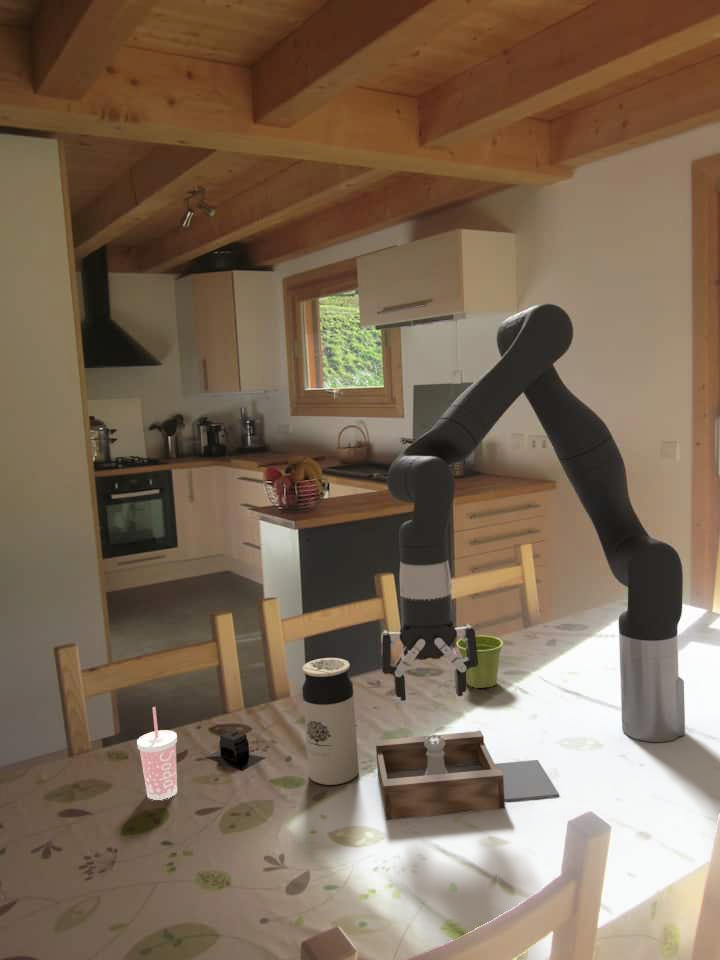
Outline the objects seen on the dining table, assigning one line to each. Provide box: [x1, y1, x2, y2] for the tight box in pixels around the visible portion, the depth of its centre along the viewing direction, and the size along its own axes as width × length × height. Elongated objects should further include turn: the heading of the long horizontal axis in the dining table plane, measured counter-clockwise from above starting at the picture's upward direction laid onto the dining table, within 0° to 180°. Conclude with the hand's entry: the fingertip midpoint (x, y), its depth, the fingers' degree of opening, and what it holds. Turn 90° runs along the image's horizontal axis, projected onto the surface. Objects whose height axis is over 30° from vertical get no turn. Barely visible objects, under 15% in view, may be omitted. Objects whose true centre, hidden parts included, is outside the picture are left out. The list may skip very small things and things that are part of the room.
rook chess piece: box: [423, 733, 449, 776], centre depth 118 cm, size 4×4×8 cm
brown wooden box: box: [375, 730, 506, 821], centre depth 118 cm, size 17×15×5 cm
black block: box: [205, 729, 266, 772], centre depth 133 cm, size 12×7×5 cm, turn 51°
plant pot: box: [456, 635, 504, 689], centre depth 159 cm, size 9×9×9 cm
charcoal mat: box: [494, 759, 560, 802], centre depth 119 cm, size 8×11×1 cm
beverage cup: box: [136, 706, 178, 801], centre depth 122 cm, size 6×6×14 cm
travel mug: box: [301, 657, 360, 786], centre depth 124 cm, size 8×8×18 cm
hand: (430, 696), depth 117 cm, fingers open, 8 cm apart
